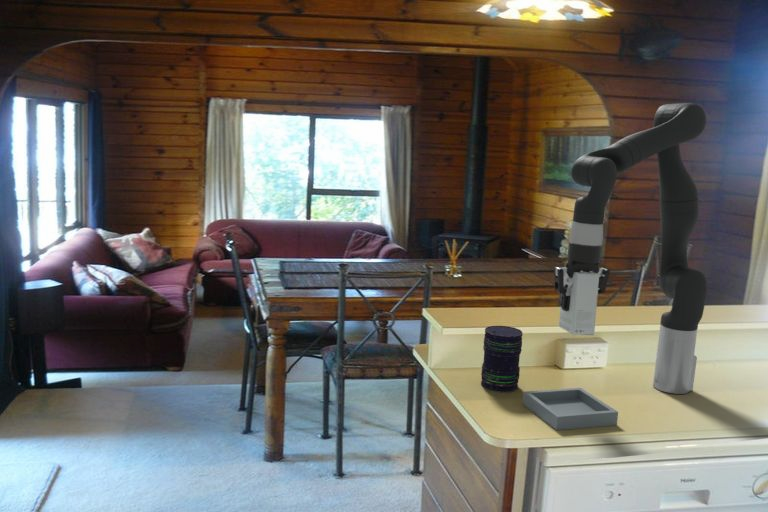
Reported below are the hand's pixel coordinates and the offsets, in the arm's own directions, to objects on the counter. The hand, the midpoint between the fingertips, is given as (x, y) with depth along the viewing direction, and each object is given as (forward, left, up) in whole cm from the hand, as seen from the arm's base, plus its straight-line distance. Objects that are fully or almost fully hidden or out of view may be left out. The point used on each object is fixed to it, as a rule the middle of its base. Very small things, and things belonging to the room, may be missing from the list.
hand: (577, 310), depth 178 cm
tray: (+3, +5, -24) cm, 25 cm away
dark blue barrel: (+11, -16, -25) cm, 31 cm away
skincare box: (0, 0, -5) cm, 5 cm away
